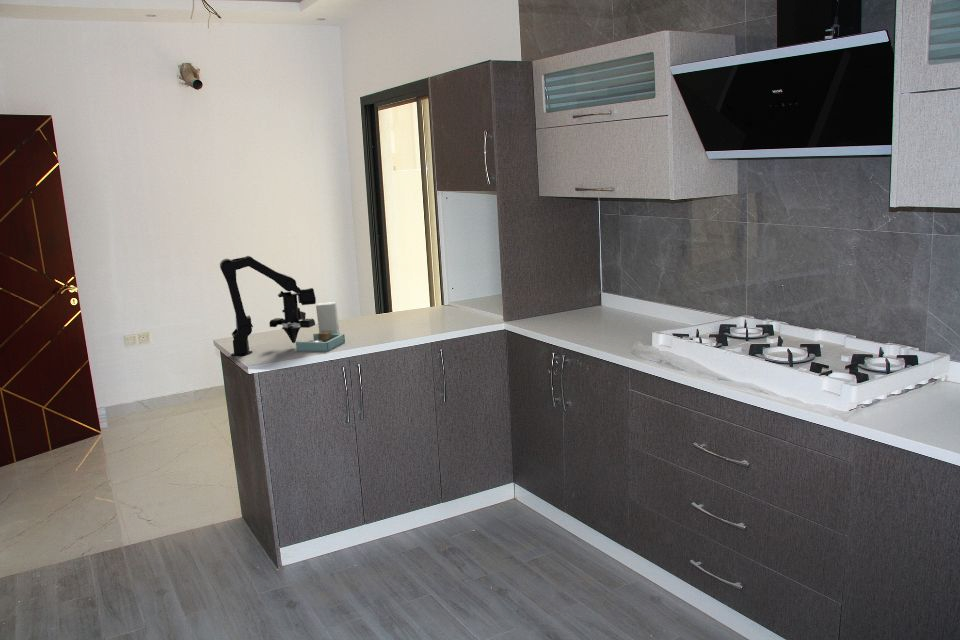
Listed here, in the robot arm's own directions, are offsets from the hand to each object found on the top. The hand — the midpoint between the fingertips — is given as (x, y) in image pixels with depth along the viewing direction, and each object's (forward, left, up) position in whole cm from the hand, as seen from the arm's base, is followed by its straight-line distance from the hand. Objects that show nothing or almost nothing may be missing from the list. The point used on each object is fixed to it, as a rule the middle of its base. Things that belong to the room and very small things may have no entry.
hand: (293, 342), depth 336 cm
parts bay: (+3, -10, -2) cm, 11 cm away
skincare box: (+19, -7, -2) cm, 20 cm away
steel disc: (0, -10, -2) cm, 10 cm away
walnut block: (+7, -11, -2) cm, 13 cm away
